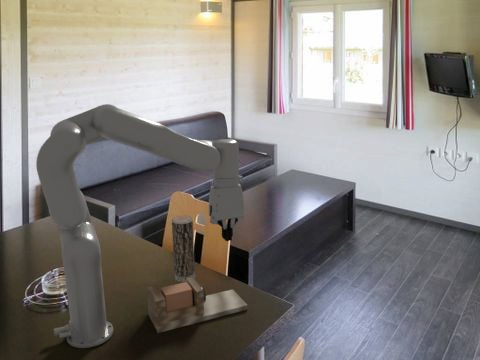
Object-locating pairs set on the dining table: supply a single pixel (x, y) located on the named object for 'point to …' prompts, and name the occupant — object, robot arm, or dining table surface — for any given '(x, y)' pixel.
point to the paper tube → (183, 248)
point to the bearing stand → (198, 312)
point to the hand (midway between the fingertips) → (227, 239)
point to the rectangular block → (177, 296)
